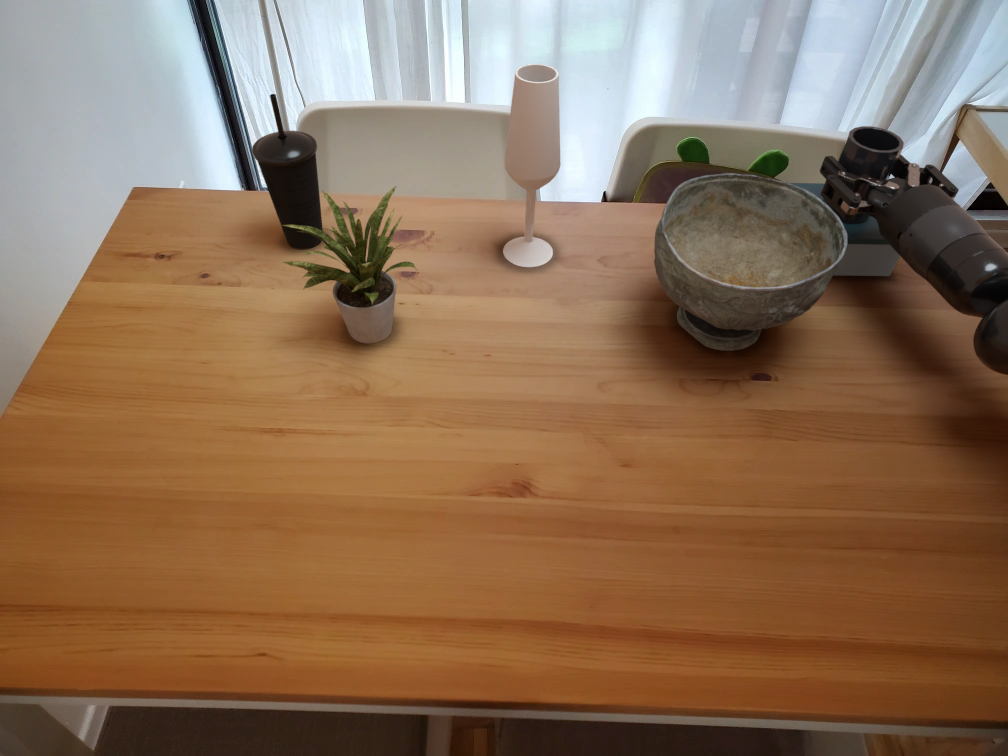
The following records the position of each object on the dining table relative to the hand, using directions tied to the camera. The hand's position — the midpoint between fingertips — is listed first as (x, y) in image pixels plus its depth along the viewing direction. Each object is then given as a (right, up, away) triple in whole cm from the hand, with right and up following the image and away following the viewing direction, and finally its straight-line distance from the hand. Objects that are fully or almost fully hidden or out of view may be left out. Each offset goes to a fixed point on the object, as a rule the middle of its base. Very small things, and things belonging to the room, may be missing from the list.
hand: (856, 159), depth 90 cm
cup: (0, -6, +3) cm, 7 cm away
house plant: (-60, -21, -4) cm, 63 cm away
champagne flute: (-41, -11, +6) cm, 43 cm away
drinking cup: (-71, -9, +7) cm, 72 cm away
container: (0, -10, +8) cm, 12 cm away
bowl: (-18, -21, -3) cm, 28 cm away
